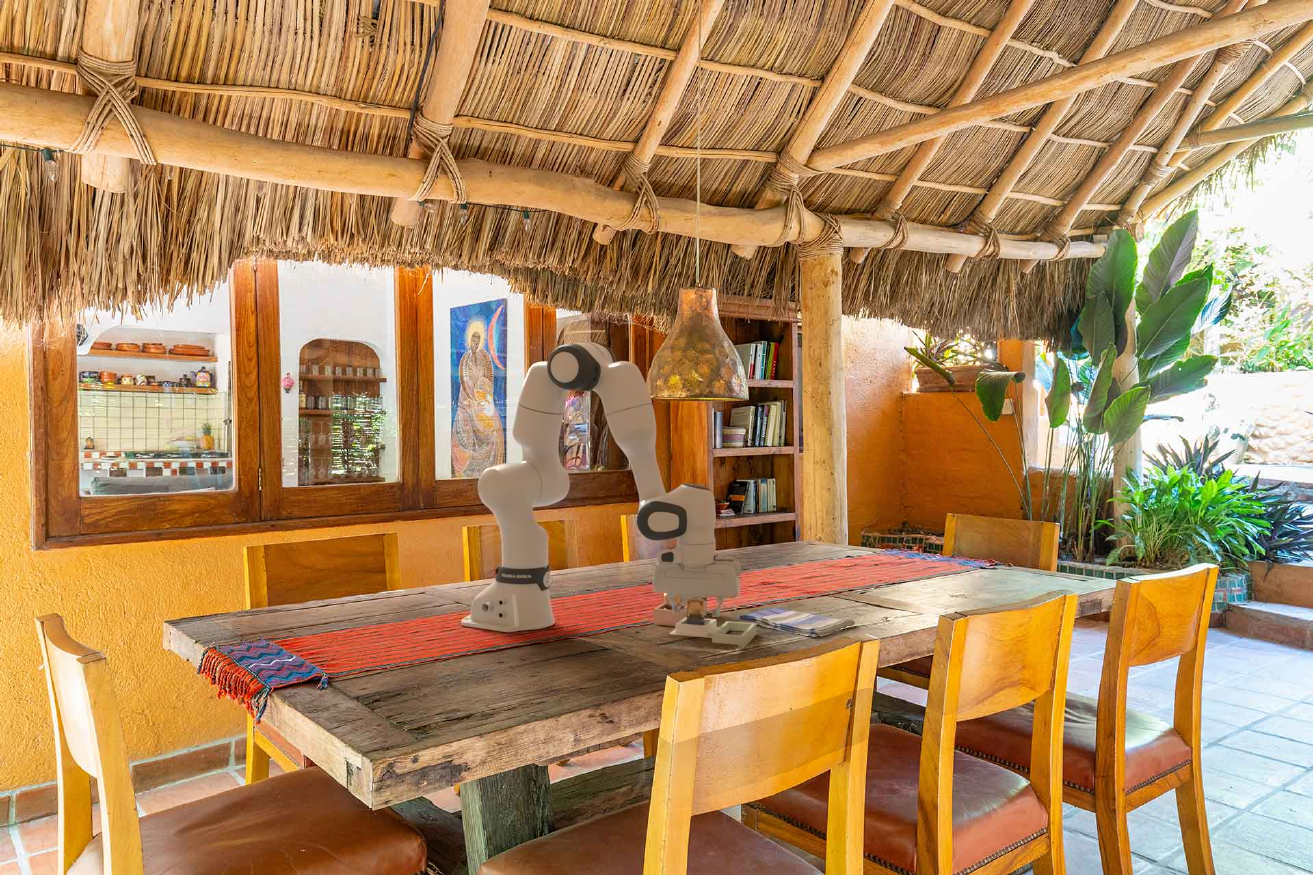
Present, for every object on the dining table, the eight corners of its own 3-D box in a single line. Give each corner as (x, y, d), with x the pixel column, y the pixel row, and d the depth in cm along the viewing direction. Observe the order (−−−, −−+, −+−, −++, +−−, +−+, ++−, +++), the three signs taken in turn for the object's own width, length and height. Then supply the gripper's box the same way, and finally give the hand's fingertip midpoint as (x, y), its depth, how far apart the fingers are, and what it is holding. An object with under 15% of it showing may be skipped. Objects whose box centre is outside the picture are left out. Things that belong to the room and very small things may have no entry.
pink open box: (653, 627, 206) (653, 609, 206) (662, 621, 212) (662, 603, 212) (681, 629, 203) (681, 611, 203) (690, 623, 210) (690, 605, 210)
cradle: (669, 637, 196) (669, 624, 196) (681, 628, 204) (681, 616, 204) (712, 641, 193) (712, 627, 193) (722, 631, 201) (722, 619, 201)
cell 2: (684, 631, 197) (684, 598, 197) (689, 627, 201) (689, 595, 201) (701, 633, 196) (701, 599, 196) (706, 629, 200) (706, 596, 200)
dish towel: (815, 641, 195) (815, 629, 195) (735, 624, 212) (735, 612, 212) (858, 629, 207) (858, 617, 207) (779, 613, 224) (779, 602, 224)
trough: (712, 645, 189) (712, 633, 189) (726, 632, 201) (726, 621, 201) (743, 648, 186) (743, 636, 186) (756, 634, 199) (756, 623, 199)
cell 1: (661, 622, 207) (661, 591, 207) (667, 619, 210) (667, 588, 210) (677, 624, 205) (677, 592, 205) (682, 621, 209) (683, 589, 209)
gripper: (743, 554, 198) (743, 615, 198) (658, 550, 205) (658, 608, 205) (737, 558, 192) (737, 621, 192) (650, 554, 199) (650, 614, 199)
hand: (696, 614), depth 199 cm, fingers open, 8 cm apart
